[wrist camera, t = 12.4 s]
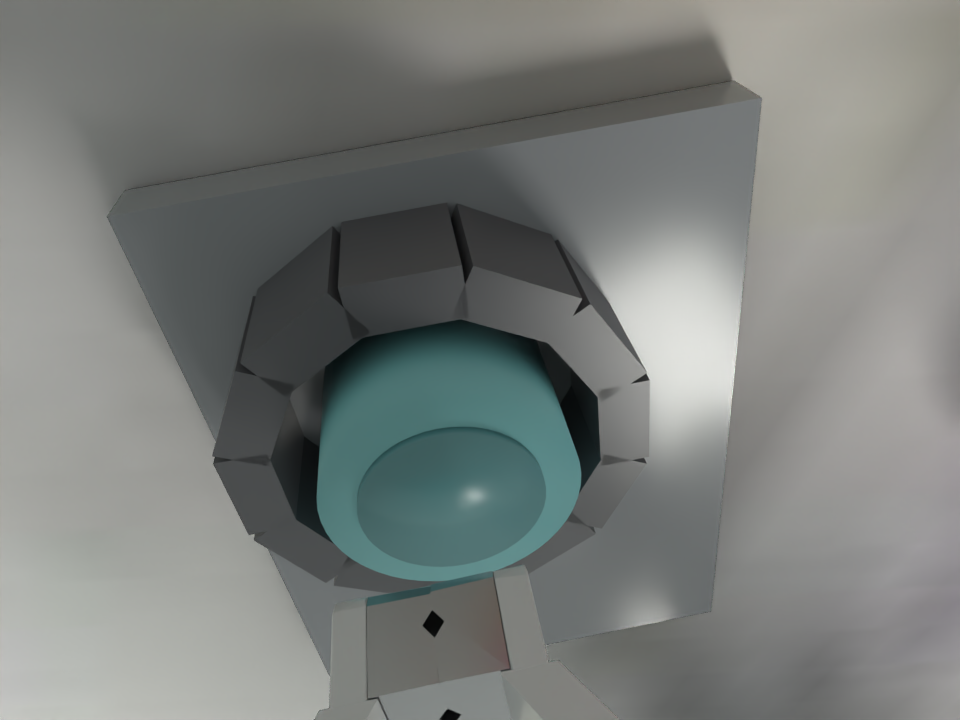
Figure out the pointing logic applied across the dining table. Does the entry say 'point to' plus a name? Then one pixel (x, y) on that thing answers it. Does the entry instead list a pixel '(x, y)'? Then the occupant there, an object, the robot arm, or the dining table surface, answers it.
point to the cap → (443, 452)
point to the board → (618, 276)
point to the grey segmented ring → (409, 304)
